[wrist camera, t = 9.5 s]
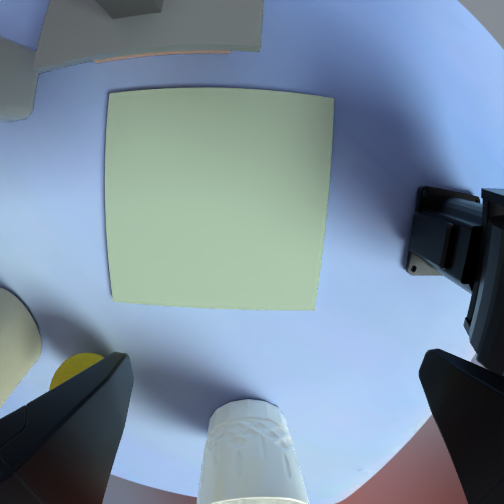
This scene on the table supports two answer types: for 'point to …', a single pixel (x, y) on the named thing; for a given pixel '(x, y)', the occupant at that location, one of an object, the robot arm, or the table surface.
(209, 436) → the white cup
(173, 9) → the lid
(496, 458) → the robot arm
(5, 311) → the travel mug
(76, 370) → the lemon
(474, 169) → the table surface
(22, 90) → the power adapter
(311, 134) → the mat
